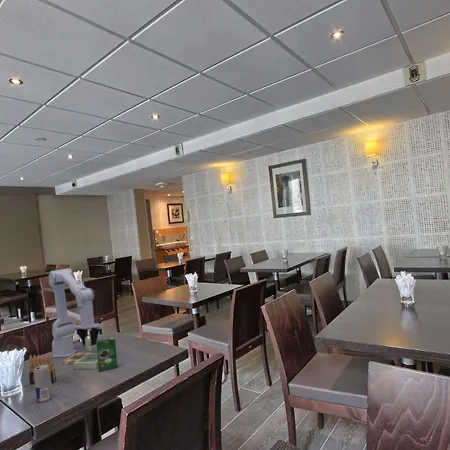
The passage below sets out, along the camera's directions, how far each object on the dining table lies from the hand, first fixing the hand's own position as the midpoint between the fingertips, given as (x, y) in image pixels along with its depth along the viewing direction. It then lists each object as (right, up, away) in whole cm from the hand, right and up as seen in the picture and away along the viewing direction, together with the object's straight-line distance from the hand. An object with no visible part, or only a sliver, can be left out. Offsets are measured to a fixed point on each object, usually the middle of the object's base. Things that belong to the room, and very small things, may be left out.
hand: (90, 344), depth 155 cm
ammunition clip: (-14, -11, -15) cm, 23 cm away
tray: (+1, -9, 0) cm, 9 cm away
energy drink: (-5, -10, -29) cm, 31 cm away
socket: (-9, -10, +8) cm, 16 cm away
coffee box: (+11, -8, -7) cm, 15 cm away
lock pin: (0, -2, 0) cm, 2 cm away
